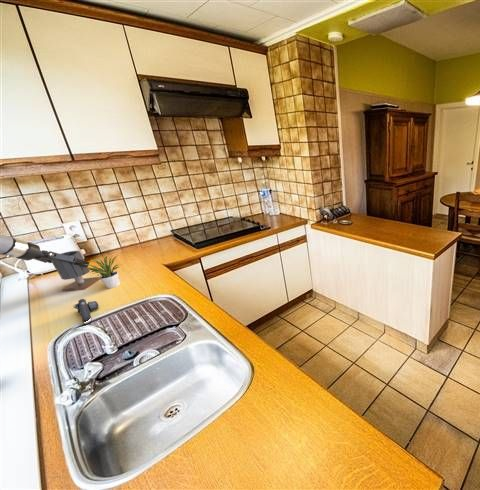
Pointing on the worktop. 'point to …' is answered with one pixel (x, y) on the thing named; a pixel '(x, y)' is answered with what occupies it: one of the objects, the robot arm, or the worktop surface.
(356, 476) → the worktop surface
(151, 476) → the worktop surface
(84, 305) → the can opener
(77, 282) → the tape stand
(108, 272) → the house plant
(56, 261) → the grey ribbed cylinder
